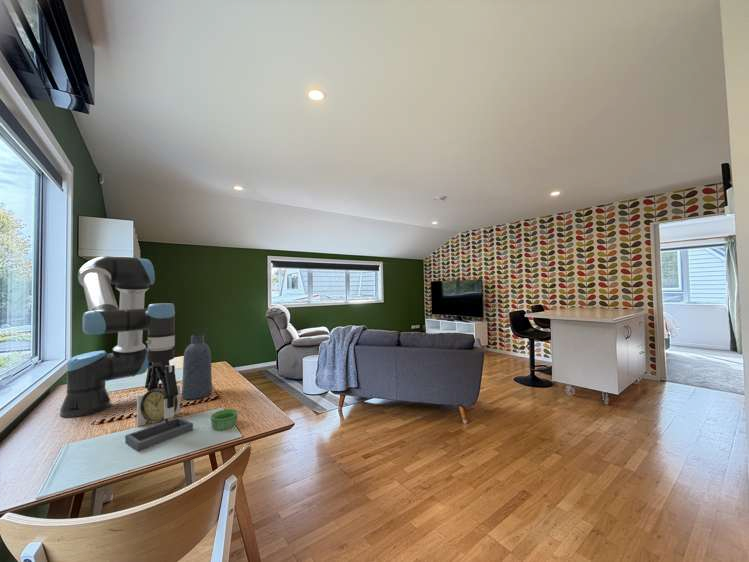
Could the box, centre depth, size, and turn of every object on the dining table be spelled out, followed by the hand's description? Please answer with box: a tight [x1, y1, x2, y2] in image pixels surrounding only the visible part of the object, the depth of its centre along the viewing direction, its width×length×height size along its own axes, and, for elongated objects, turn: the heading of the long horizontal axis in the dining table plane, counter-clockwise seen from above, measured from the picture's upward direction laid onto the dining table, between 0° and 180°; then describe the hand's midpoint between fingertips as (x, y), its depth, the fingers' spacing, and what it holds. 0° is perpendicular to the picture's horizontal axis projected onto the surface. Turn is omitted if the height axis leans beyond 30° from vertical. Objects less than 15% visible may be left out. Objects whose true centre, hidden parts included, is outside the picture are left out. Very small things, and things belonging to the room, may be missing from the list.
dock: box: [124, 416, 194, 453], centre depth 100 cm, size 10×16×2 cm, turn 148°
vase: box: [181, 334, 213, 400], centre depth 140 cm, size 12×12×28 cm
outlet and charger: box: [136, 384, 181, 427], centre depth 111 cm, size 12×14×11 cm
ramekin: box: [210, 408, 239, 432], centre depth 108 cm, size 9×9×4 cm
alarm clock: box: [140, 376, 178, 425], centre depth 101 cm, size 11×5×16 cm, turn 81°
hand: (160, 413), depth 101 cm, fingers closed on alarm clock, 11 cm apart
